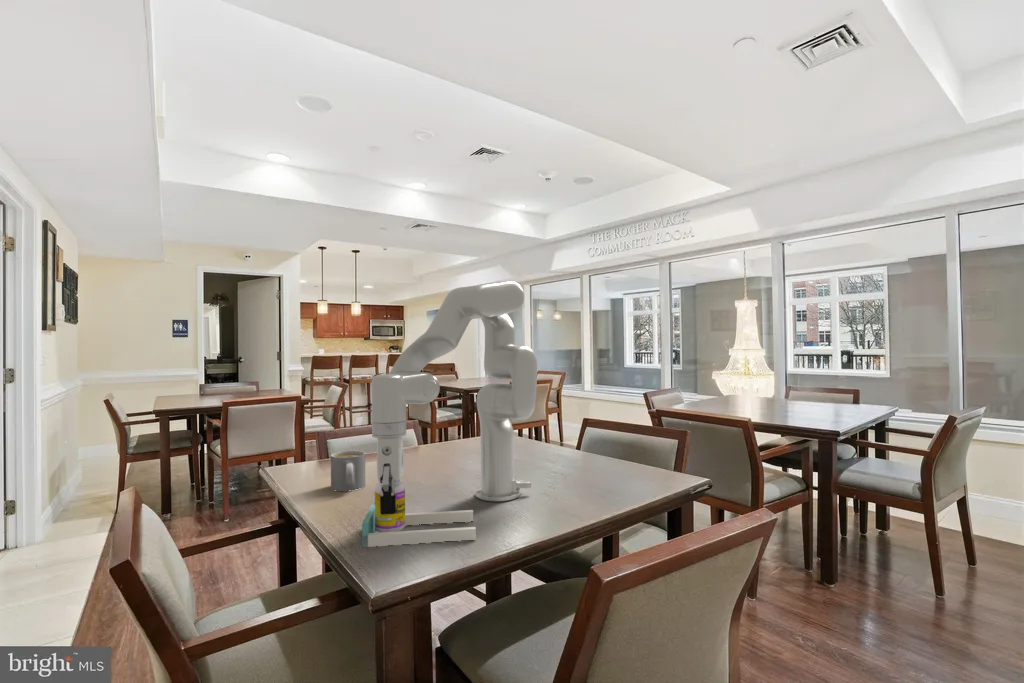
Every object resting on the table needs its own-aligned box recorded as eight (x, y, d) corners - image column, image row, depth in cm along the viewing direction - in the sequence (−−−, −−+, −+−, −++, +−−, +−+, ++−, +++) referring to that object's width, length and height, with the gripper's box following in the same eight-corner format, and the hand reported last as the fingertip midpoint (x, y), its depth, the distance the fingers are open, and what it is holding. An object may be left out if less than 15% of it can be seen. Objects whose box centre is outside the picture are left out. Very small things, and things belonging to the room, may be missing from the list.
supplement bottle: (397, 535, 105) (397, 476, 105) (369, 533, 106) (368, 474, 106) (410, 524, 112) (409, 468, 112) (383, 522, 113) (382, 467, 113)
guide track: (472, 520, 118) (472, 499, 118) (475, 540, 105) (475, 517, 105) (371, 526, 114) (371, 504, 114) (362, 547, 102) (362, 523, 102)
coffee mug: (334, 483, 151) (334, 451, 151) (367, 481, 153) (367, 449, 153) (325, 496, 138) (325, 461, 138) (361, 494, 140) (361, 459, 140)
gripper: (402, 435, 101) (403, 520, 101) (409, 422, 118) (409, 495, 118) (365, 436, 100) (366, 523, 100) (377, 423, 117) (378, 497, 117)
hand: (390, 507), depth 109 cm, fingers closed on supplement bottle, 6 cm apart
